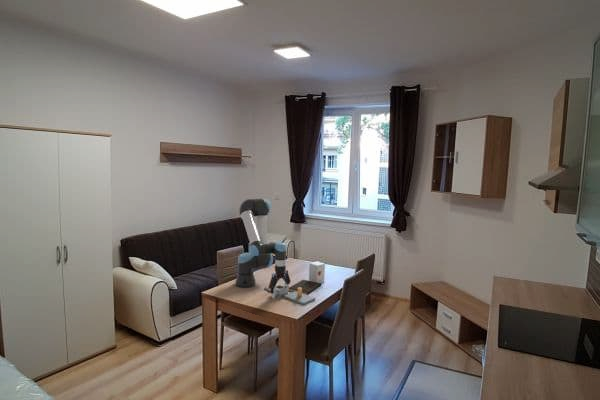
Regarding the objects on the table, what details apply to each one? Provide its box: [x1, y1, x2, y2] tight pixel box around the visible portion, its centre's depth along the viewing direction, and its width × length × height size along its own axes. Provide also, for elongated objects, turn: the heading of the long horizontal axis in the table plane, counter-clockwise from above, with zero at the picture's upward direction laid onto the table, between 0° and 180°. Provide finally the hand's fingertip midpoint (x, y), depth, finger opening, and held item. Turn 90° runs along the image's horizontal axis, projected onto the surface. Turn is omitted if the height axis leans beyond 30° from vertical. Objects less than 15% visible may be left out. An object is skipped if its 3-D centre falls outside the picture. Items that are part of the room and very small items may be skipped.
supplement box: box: [308, 260, 326, 284], centre depth 268 cm, size 9×9×15 cm
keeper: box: [283, 287, 316, 306], centre depth 232 cm, size 18×12×8 cm, turn 49°
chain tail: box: [263, 286, 271, 293], centre depth 246 cm, size 12×4×1 cm, turn 49°
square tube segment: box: [274, 284, 289, 299], centre depth 238 cm, size 8×8×6 cm
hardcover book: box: [288, 279, 322, 296], centre depth 254 cm, size 16×23×2 cm
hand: (279, 295), depth 238 cm, fingers open, 12 cm apart
